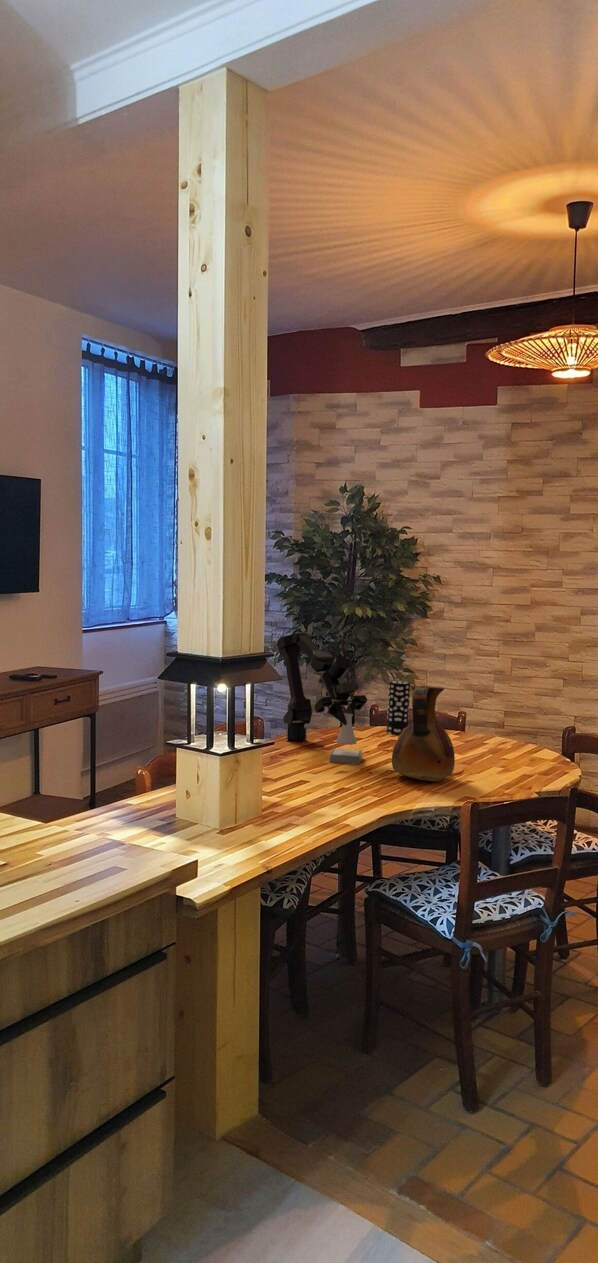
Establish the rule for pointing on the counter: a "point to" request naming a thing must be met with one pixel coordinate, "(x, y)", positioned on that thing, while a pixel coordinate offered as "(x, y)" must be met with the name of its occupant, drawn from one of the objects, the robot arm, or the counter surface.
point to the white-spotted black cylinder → (398, 706)
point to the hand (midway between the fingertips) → (350, 724)
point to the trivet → (346, 756)
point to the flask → (347, 732)
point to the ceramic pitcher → (424, 741)
